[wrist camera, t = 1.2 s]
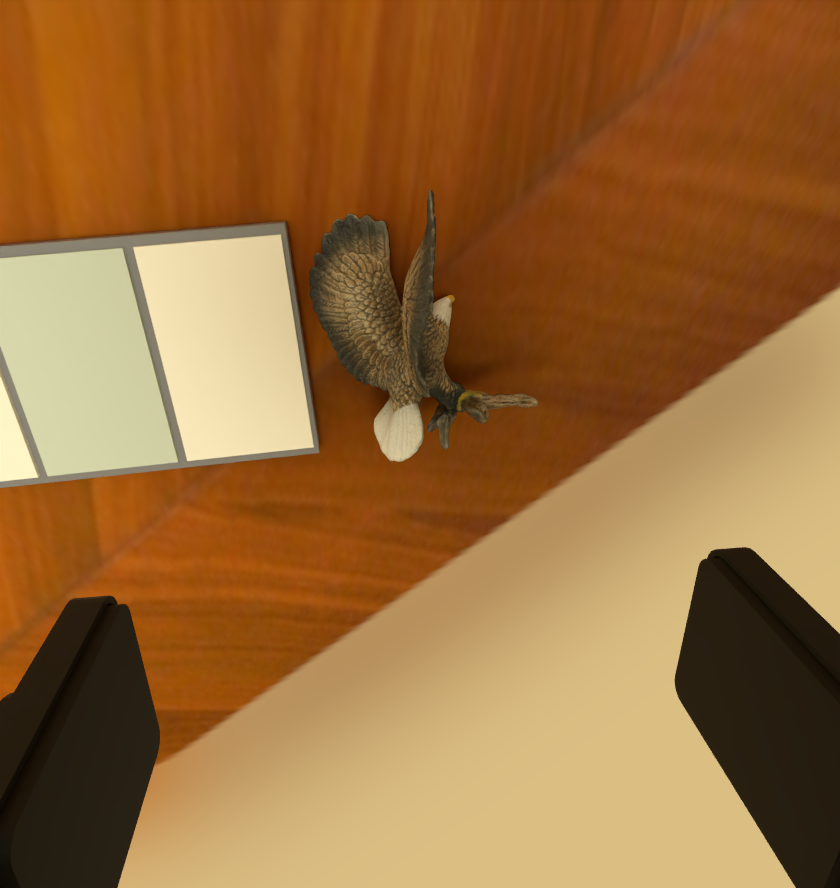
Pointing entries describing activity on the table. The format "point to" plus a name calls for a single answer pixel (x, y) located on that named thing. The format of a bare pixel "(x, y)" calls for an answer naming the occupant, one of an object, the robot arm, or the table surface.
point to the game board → (151, 353)
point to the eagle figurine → (393, 332)
